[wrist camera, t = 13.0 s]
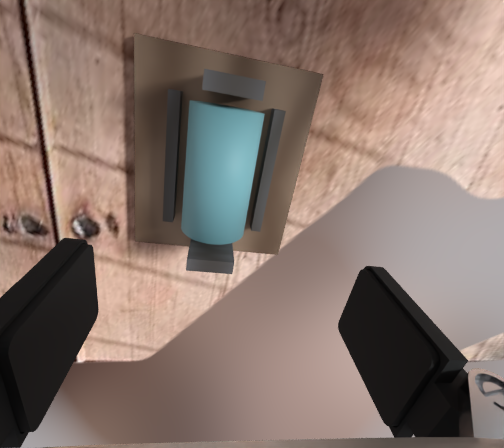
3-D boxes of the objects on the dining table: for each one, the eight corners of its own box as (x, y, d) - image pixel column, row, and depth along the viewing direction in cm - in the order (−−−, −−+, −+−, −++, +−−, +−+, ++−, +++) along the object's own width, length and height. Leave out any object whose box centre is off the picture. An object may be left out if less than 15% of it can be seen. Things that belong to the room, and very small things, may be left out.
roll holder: (318, 75, 25) (359, 69, 18) (275, 249, 33) (291, 294, 26) (137, 35, 23) (99, 9, 15) (138, 235, 31) (112, 282, 23)
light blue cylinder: (192, 99, 24) (185, 102, 19) (259, 111, 25) (270, 117, 20) (184, 212, 29) (177, 241, 23) (241, 218, 30) (246, 247, 24)
